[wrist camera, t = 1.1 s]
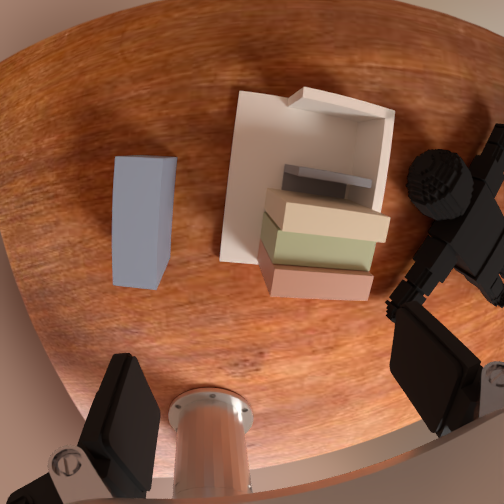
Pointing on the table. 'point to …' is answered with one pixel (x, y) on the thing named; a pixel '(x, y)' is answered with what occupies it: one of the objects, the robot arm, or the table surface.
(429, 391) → the robot arm
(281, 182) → the shelf
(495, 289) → the toy
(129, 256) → the grey block
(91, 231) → the table surface
